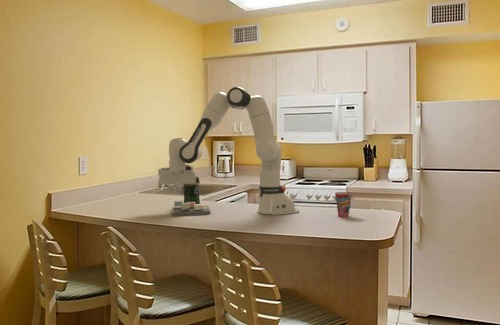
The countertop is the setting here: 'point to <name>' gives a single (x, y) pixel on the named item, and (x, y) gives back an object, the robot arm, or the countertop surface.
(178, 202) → the key
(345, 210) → the cup
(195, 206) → the key
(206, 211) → the keypad board
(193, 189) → the coffee jar
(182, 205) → the key
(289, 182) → the countertop surface
